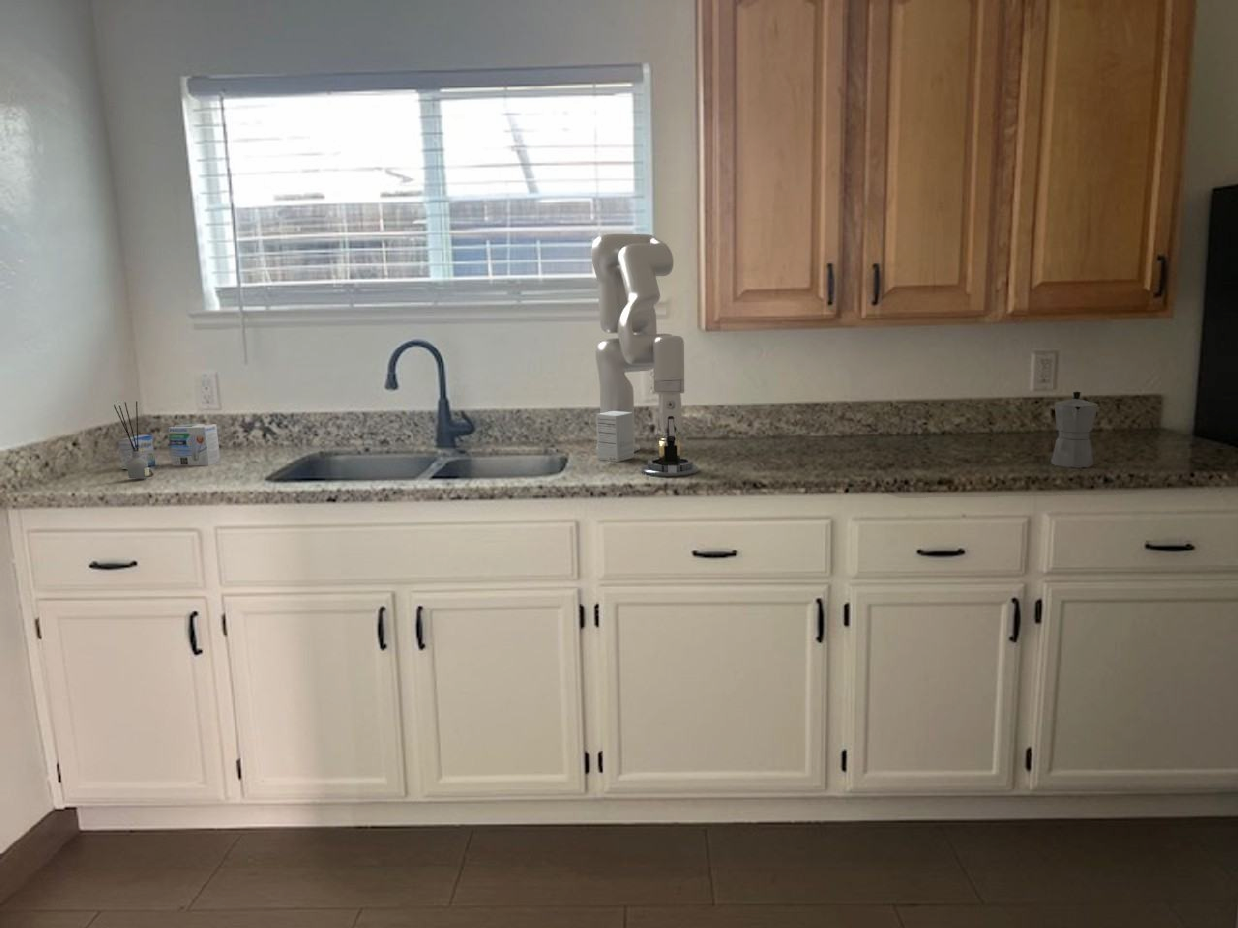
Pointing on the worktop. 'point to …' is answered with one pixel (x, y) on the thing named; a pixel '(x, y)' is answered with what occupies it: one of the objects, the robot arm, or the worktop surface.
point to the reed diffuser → (135, 454)
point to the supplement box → (615, 436)
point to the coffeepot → (1074, 432)
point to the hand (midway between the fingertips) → (669, 459)
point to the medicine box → (143, 445)
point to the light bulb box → (194, 444)
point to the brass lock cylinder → (661, 451)
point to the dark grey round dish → (670, 468)
